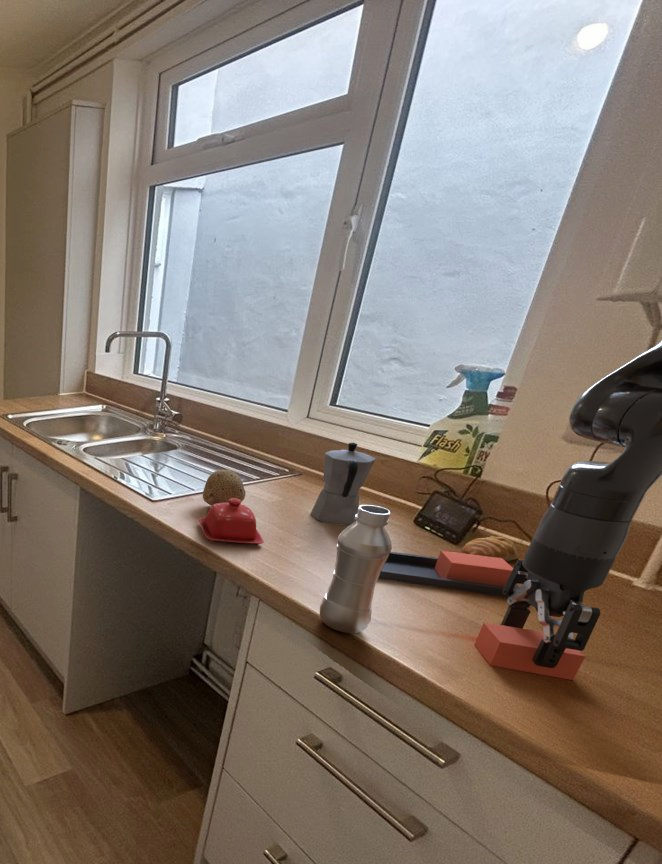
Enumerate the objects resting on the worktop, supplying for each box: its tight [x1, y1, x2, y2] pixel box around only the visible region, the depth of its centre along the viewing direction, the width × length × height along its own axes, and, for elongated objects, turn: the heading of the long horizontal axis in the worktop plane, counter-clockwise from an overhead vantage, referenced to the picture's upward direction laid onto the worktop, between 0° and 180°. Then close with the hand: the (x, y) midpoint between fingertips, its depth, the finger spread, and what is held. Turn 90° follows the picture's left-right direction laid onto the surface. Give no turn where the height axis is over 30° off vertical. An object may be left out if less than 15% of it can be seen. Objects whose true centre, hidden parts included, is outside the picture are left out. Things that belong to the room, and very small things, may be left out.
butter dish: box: [198, 498, 264, 545], centre depth 112 cm, size 12×12×8 cm
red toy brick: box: [474, 622, 586, 681], centre depth 74 cm, size 9×5×4 cm, turn 69°
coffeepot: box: [310, 442, 376, 527], centre depth 117 cm, size 15×9×18 cm, turn 153°
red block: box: [434, 550, 514, 587], centre depth 93 cm, size 9×5×4 cm, turn 69°
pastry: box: [460, 535, 519, 562], centre depth 102 cm, size 9×7×4 cm
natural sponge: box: [202, 469, 247, 507], centre depth 125 cm, size 9×9×10 cm
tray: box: [378, 551, 520, 598], centre depth 96 cm, size 22×10×2 cm, turn 69°
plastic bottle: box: [319, 504, 393, 634], centre depth 79 cm, size 6×7×20 cm
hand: (525, 646), depth 74 cm, fingers open, 8 cm apart
